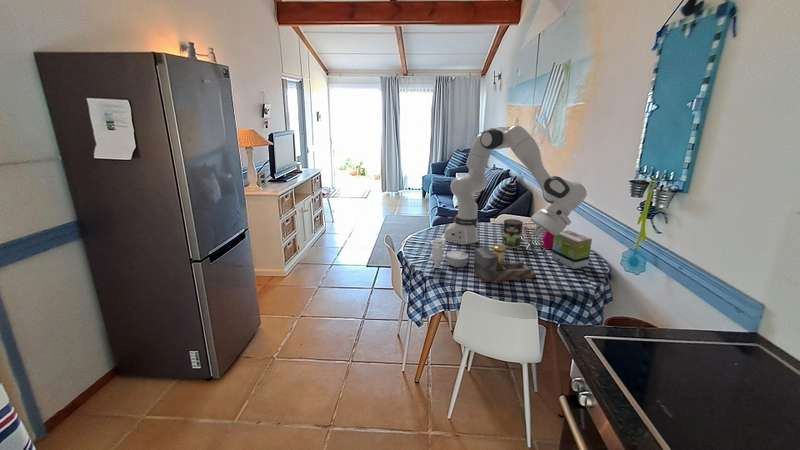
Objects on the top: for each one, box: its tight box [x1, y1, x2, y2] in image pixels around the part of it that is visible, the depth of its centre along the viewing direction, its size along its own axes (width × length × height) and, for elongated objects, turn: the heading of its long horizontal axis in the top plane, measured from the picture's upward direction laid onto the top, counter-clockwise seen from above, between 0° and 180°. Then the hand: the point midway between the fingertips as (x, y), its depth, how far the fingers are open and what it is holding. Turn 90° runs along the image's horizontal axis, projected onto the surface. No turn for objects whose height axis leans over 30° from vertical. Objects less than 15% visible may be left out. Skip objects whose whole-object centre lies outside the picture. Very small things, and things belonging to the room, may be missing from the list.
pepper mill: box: [542, 231, 554, 250], centre depth 208 cm, size 7×7×20 cm
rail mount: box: [473, 247, 537, 283], centre depth 174 cm, size 26×12×12 cm, turn 99°
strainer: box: [430, 238, 446, 268], centre depth 182 cm, size 7×7×15 cm
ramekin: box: [445, 250, 470, 268], centre depth 188 cm, size 11×11×5 cm
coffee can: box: [501, 218, 524, 249], centre depth 213 cm, size 10×10×14 cm
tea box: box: [551, 229, 593, 270], centre depth 188 cm, size 15×10×15 cm, turn 23°
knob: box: [492, 244, 507, 271], centre depth 173 cm, size 6×6×12 cm
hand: (534, 234), depth 173 cm, fingers closed
